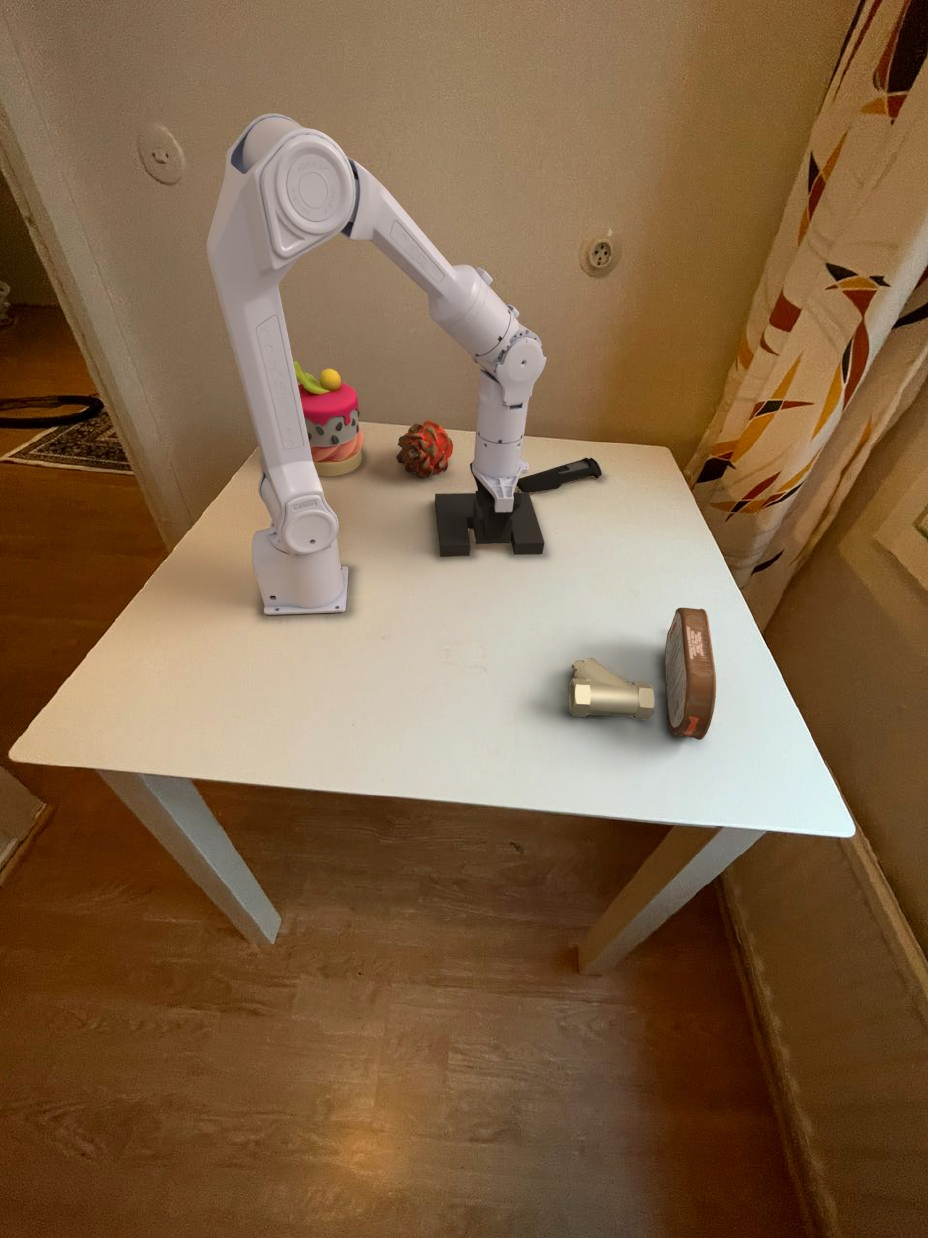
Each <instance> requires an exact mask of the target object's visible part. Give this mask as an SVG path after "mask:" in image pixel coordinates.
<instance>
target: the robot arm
mask: <svg viewBox="0 0 928 1238" xmlns="http://www.w3.org/2000/svg"><path fill="white" fill-rule="evenodd" d="M339 233H340V234H341V235H343V236H344V237H346V239H348V240H350V241H354V242H355V241H356V242H357V241H359V242H361V241H363V242H364V241H365V242H366V241H368V242H369V241H370V242H371V243H372V245H374V246H375V247H376V248H377V249H378V250H379V251H380V252H381V253H382V254H384V256H385V257H387V258H388V259H389V260H390V261H391V262H392V263H394V265H395V266H396V267H397V268H399V269H400V270H401V271H402V272H403V273H404V274H405V275H406V276H407V277H409V279H410V280H411V281H413V282H414V283H415V284H416V285H417V286H418V287H420V288H421V289H422V291H424V292H425V293H426V295H427V299H428V312H429V316H430V318H431V320H432V321H433V322H435V323H436V325H438V326H439V327H440V328H441V329H442V330H443V331H444V332H445V333H446V334H447V335H448V336H449V337H450V338H451V339H452V340H454V342H455V343H457V344H458V345H459V346H460V347H461V348H462V349H463V350H464V351H465V352H466V353H467V354H469V356H470V357H471V359H472V362H473V363H474V364H479V367H481V368H480V369H479V380H478V394H477V396H478V397H477V408H476V410H477V412H476V424H475V425H476V426H475V439H474V452H473V453H474V455H473V460H472V461H471V462H470V464H469V468H470V473H471V475H472V476H473V480H474V482H475V485H476V489H477V490H475V492H474V493H475V495H476V500H477V503H478V505H479V507H480V509H481V511H482V514H483V525H484V532H485V536H486V539H500V538H501V537H502V535H503V533H504V531H505V528H506V526H507V524H508V521H509V519H510V518H511V516H512V514H513V513H514V512H515V511H516V510H517V509H518V508H519V507H520V506H521V503H522V497H521V494H520V493H516V492H515V491H516V487H517V486H516V485H517V482H518V479H519V478H520V476H521V475H524V474H525V475H526V474H528V473H530V465H529V463H528V461H527V460H522V453H523V446H524V440H525V430H526V423H527V417H528V416H527V415H528V409H529V408H528V407H529V401H530V398H531V397H533V391H534V390H533V389H534V385H535V383H536V381H538V379H539V377H540V376H541V375H542V373H543V371H544V368H545V366H546V363H547V359H548V358H547V357H546V356H545V355H544V353H543V352H544V351H543V348H542V346H543V344H542V341H541V339H540V337H539V336H538V335H537V334H536V333H535V332H533V331H532V330H530V329H529V328H527V327H526V326H524V325H523V324H521V323H520V322H519V319H518V317H520V312H519V310H517V308H516V307H515V306H514V305H512V304H506V303H505V302H504V301H503V300H502V298H500V297H499V295H498V294H497V292H495V291H494V290H493V288H491V286H490V285H491V284H492V283H493V278H492V276H491V275H490V274H489V272H488V271H486V270H485V269H484V268H481V267H476V269H475V268H474V267H473V266H471V265H470V264H456V265H452V264H450V263H449V261H448V260H447V259H446V257H444V255H443V254H442V253H441V252H440V251H439V250H438V248H437V246H435V245H434V244H433V242H432V241H431V240H430V239H429V238H428V236H427V235H426V234H425V233H424V232H423V231H422V229H421V228H420V227H419V226H418V225H417V223H416V222H415V221H414V220H413V219H412V217H411V216H410V215H409V214H408V213H407V212H406V210H405V209H404V208H403V207H402V205H400V203H399V202H398V201H397V200H396V198H395V197H394V196H393V195H392V194H391V193H390V191H389V190H388V189H387V188H386V187H385V186H384V185H383V184H382V183H381V182H380V181H379V180H378V179H377V178H376V177H375V176H374V175H373V174H372V173H371V172H370V171H368V170H367V169H366V168H365V167H364V166H362V165H361V164H360V163H359V162H358V161H356V160H355V159H353V158H351V157H349V156H347V155H346V154H345V152H344V150H343V149H342V148H341V147H340V145H339V144H338V143H337V142H336V141H335V140H334V139H333V138H332V137H330V136H329V135H328V134H326V133H324V132H322V131H320V130H317V129H315V128H309V127H308V128H307V127H304V126H302V125H300V123H299V122H297V121H295V120H294V119H293V118H291V117H289V116H286V115H285V114H280V113H265V114H261V115H260V116H257V117H256V118H254V119H253V120H252V121H251V122H250V123H249V124H248V125H247V126H246V128H245V129H244V130H243V131H242V133H241V134H240V135H239V136H238V138H237V139H236V140H235V141H234V143H233V144H232V145H231V146H230V147H229V149H228V150H227V152H226V157H225V169H224V177H223V181H222V184H221V188H220V192H219V196H218V199H217V203H216V206H215V211H214V214H213V217H212V221H211V225H210V229H209V231H208V236H207V240H206V245H205V248H206V257H207V262H208V265H209V268H210V273H211V276H212V280H213V283H214V287H215V291H216V294H217V295H216V296H217V300H218V302H219V306H220V309H221V313H222V317H223V321H224V324H225V328H226V332H227V335H228V340H229V342H230V346H231V350H232V353H233V358H234V361H235V365H236V368H237V372H238V376H239V380H240V384H241V387H242V391H243V396H244V398H245V403H246V405H247V406H246V407H247V408H248V413H249V416H250V420H251V425H252V428H253V430H254V431H253V432H254V435H255V438H256V442H257V446H258V450H259V453H260V455H259V457H258V460H259V464H260V469H261V473H260V477H259V482H258V486H257V487H258V489H257V490H258V493H259V497H260V499H261V501H262V502H263V504H264V505H265V507H266V510H267V512H268V515H269V517H270V518H271V521H270V524H269V528H266V529H259V530H256V531H255V532H254V533H253V536H252V541H251V562H252V568H253V572H254V575H255V580H256V582H257V586H258V589H259V593H260V595H261V598H262V599H261V600H262V602H263V605H264V607H263V613H264V615H266V616H272V615H275V616H277V615H300V614H301V615H302V614H327V613H328V614H331V613H344V612H346V610H347V598H348V583H349V570H350V569H349V567H348V566H346V565H341V558H340V551H339V544H338V538H337V537H338V536H337V535H338V533H339V529H340V523H339V519H338V516H337V513H336V512H335V511H334V510H333V509H332V507H331V506H330V505H329V503H328V501H327V500H326V498H325V492H324V489H323V486H322V483H321V480H320V476H319V475H318V474H317V472H316V469H315V466H314V463H313V460H312V455H311V450H310V445H309V439H308V434H307V429H306V424H305V419H304V414H303V409H302V404H301V399H300V394H299V389H298V385H299V384H298V381H297V378H296V373H295V368H294V363H293V361H294V359H293V358H294V357H293V354H292V349H291V343H290V339H289V333H288V328H287V323H286V317H285V312H284V308H283V302H282V298H281V293H280V287H279V286H280V283H281V282H282V280H283V279H284V278H285V277H286V275H287V274H288V272H289V271H290V270H291V269H292V268H293V266H294V265H295V264H296V263H297V261H298V260H299V259H300V258H301V257H303V256H305V255H306V254H308V253H311V251H314V250H315V249H317V248H318V247H320V246H322V245H323V244H325V243H327V242H329V241H330V240H332V239H333V238H335V237H336V236H338V234H339Z"/></svg>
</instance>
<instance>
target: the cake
mask: <svg viewBox="0 0 928 1238" xmlns="http://www.w3.org/2000/svg"><path fill="white" fill-rule="evenodd" d="M293 363H294V368H295V373H296V378H297V383H299V384H298V389H299V394H300V399H301V404H302V409H303V414H304V419H305V424H306V429H307V434H308V439H309V445H310V450H311V455H312V460H313V463H314V466H315V469H316V472H317V474H318V477H336V476H337V477H338V476H342V475H346V474H349V473H352V472H353V471H355V470H356V469H358V468H359V466H361V464H362V460H363V456H362V447H363V444H364V440H365V437H364V434H363V431H362V430H361V428H360V424H359V417H360V414H361V413H360V412H361V411H360V410H359V399H358V394H357V392H356V390H355V389H354V388H353V387H352V386H351V385H349V384H347V383H345V382H342V378H341V376H340V375H341V374H339V372H338V371H337V370H335V369H333V368H326V369H324V370H322V371H321V373H319V378H318V379H316V378H315V377H314V376H313V375H312V374H310V373H308V372H304V371H303V369H302V368H301V366H300V364H299V362H298V361H297V360H293Z"/></svg>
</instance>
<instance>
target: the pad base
mask: <svg viewBox="0 0 928 1238" xmlns="http://www.w3.org/2000/svg"><path fill="white" fill-rule="evenodd" d="M515 493H520V494H521V497H522V503H521V506H520V507H519V508H518V509H517V510H516V511H515V512H514V513H513V514H512V518H513V522H512V530H511V537H510V545H511V550H512V554H513V555H514V556H519V555H522V556H523V555H527V556H528V555H543V553H544V547H545V542H546V541H545V540H544V537H543V533H542V529H541V527H540V523H539V521H538V517H537V514H536V511H535V507H534V504H533V502H532V498H531V495H530V494H531V493H529V492H522V491H519V492H517V491H516V492H515ZM474 500H476V495H475V492H462V493H461V492H459V493H457V492H456V493H455V492H454V493H453V492H451V493H435V494H434V509H435V519H436V529H437V537H438V538H437V539H438V547H439V556H440V557H444V558H445V557H470V556H471V538H470V533H469V529H471V530H473V524H472V523H473V508H474Z"/></svg>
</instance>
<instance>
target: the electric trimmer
mask: <svg viewBox="0 0 928 1238" xmlns="http://www.w3.org/2000/svg"><path fill="white" fill-rule="evenodd" d="M602 476H603V472H602V469H601V466H600V464H599V463H598V461H597V460H596V459H594V458H593V457H589V458H588V457H583V458H582V459H579V460H575V461H573V462H569V463H565V464H562V465H559V466H555V467H551V468H549V469H547V470H543V471H540V472H536V473H533V474H530V475H527V476H524V477H519V479H518V482H517V485H516V487H517V489H519V490H520V492H529V494H532V493H539V492H546V491H551V490H558V489H559V488H560V487H561V486H562V485H564V484H568V483H572V482H576V481H580V480H584V479H588V478H591V477H593V478H595V479H596V480H597V479H599V478H600V477H602Z"/></svg>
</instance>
